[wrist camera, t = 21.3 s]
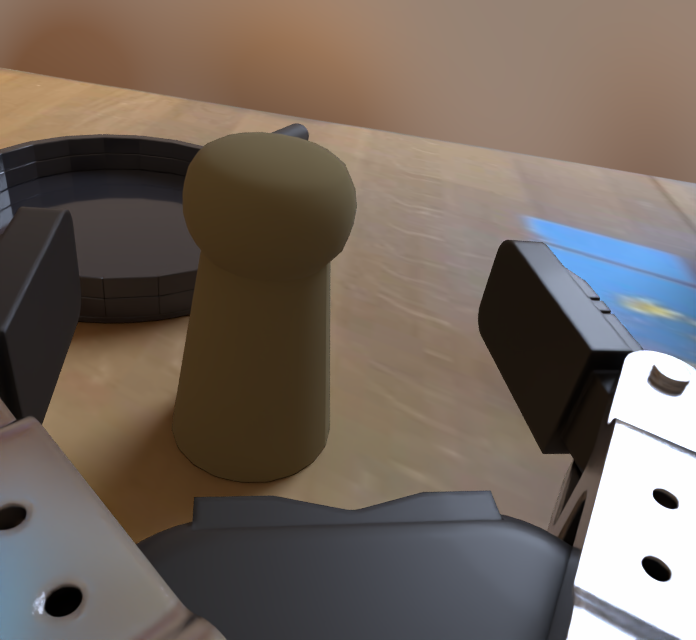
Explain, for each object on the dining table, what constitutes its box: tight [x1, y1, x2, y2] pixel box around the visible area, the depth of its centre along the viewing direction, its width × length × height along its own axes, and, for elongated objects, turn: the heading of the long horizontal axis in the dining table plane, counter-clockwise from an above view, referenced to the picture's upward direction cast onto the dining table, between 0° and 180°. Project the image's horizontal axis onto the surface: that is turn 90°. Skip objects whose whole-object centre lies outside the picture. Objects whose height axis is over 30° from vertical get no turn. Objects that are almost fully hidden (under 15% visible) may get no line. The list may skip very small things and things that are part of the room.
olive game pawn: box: [172, 132, 357, 482], centre depth 21 cm, size 6×6×11 cm
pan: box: [0, 134, 204, 323], centre depth 34 cm, size 17×17×2 cm
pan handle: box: [272, 124, 309, 141], centre depth 44 cm, size 11×2×2 cm, turn 153°
